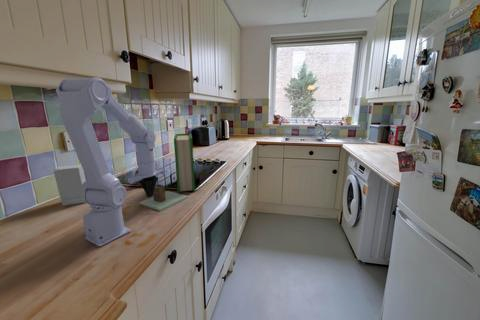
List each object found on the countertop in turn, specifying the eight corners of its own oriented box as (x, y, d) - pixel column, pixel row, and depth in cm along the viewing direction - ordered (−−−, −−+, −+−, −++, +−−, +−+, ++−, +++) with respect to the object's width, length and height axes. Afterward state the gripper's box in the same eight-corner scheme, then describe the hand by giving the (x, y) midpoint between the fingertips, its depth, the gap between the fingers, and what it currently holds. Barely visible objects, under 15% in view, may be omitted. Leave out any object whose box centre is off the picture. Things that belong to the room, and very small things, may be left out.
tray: (160, 210, 83) (160, 208, 83) (139, 203, 89) (139, 201, 89) (187, 197, 95) (187, 195, 95) (167, 192, 101) (167, 190, 101)
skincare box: (89, 197, 96) (83, 163, 93) (85, 203, 90) (79, 167, 87) (65, 200, 93) (59, 165, 90) (60, 206, 88) (52, 169, 84)
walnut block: (160, 202, 88) (159, 187, 87) (153, 200, 90) (152, 186, 89) (165, 200, 90) (164, 185, 89) (159, 198, 93) (157, 184, 91)
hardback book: (195, 191, 102) (192, 138, 96) (177, 193, 100) (173, 138, 94) (193, 179, 118) (191, 133, 113) (179, 181, 117) (175, 134, 111)
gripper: (155, 156, 91) (158, 188, 94) (120, 164, 79) (125, 200, 82) (167, 158, 87) (170, 191, 90) (132, 166, 75) (137, 205, 78)
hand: (149, 196), depth 86 cm, fingers closed
